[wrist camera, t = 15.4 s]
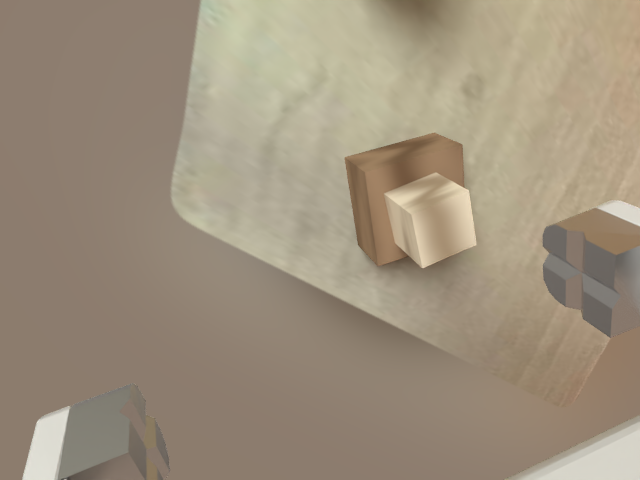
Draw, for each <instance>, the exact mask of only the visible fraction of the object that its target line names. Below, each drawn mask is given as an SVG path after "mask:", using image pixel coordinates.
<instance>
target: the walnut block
mask: <svg viewBox="0 0 640 480" xmlns="http://www.w3.org/2000/svg"><path fill="white" fill-rule="evenodd" d="M345 164H346V170H347V176H348V183H349V189H350V196H351V202H352V208H353V215H354V221H355V228H356V234H357V240H358V245H359V246H360V247H361V248H362V250H363V251H364V252H365V253H366V254H367V255H368V256H369V257H370V258H371V259H372V260H373V261H374V262H375V264H376V265H377V266H380V265H383V264H386V263H389V262H393V261H396V260H399V259H402V258H405V257H408V255H407V254H406V253H405V252H404V251H403V250H402V249H401V248H400V247H399V246H398V245H397V244H395V240H394V236H393V232H392V227H391V223H390V219H389V215H388V210H387V206H386V202H385V197H384V193H386V192H389V191H391V190H393V189H396V188H398V187H401V186H403V185H406V184H408V183H411V182H413V181H416V180H418V179H421V178H423V177H426V176H428V175H430V174H433V173H435V172H436V173H438V174H440V175H442V176H444V177H445V178H447V179H449V180H451V181H453V182H454V183H456V184H458V185H460V186H461V187H463V188H464V171H463V148H462V144H460V143H457V142H455V141H453V140H450V139H448V138H446V137H443V136H441V135H438V134H436V133H432V134H428V135H424V136H421V137H417V138H413V139H410V140H406V141H402V142H399V143H395V144H392V145H388V146H384V147H381V148H377V149H373V150H370V151H366V152H363V153H359V154H355V155H352V156H348V157H345Z"/></svg>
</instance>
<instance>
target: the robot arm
mask: <svg viewBox="0 0 640 480" xmlns="http://www.w3.org/2000/svg"><path fill="white" fill-rule="evenodd" d="M543 247H544V248H545V249H546V250H547V251H548V252H549V255H548V256H547V258H546V260H545V262H544V264H543V277H544V281H545V284H546V286H547V288H548V290H549V292H550V293H551V294H552V296H553V297H554V298H555V299H556V300H557V301H558V302H560V303H561V304H562V305H564V306H565V307H569V308H573V309H578V310H581V313H582V317H583V319H584V320H585V321H587V322H588V323H590V324H591V325H593V326H594V327H595V328H597V329H598V330H600V331H601V332H603V333H604V334H606V335H607V336H609V337H610V338H611V337H614V336H616V335H619V334H621V333H624V332H626V331H629V330H631V329H633V328H636V327H638V326H640V208H638V207H635V206H633V205H630V204H628V203H625V202H622V201H620V200H610V201H608V202H605V203H603V204H601V205H598V206H596V207H593V208H591V209H589V210H588V211H586V212H583V213H580V214H578V215H575V216H573V217H570V218H568V219H565V220H562V221H560V222H557V223H555V224H552V225H550V226H547V227H546V228H545V231H544V233H543ZM169 472H170V468H169V457H168V453H167V448H166V444H165V441H164V438H163V435H162V432H161V430H160V428H159V426H158V424H157V422H156V420H155V418H152V417H150V416H147V415H146V404H145V399H144V397H143V395H142V393H141V391H140V390H139V388H138V386H136V385H135V384H133V383H132V384H129V385H126V386H124V387H121V388H118V389H115V390H113V391H110V392H107V393H104V394H102V395H98V396H96V397H93V398H90V399H88V400H85V401H82V402H79V403H76V404H74V405H73V406H68V407H65V408H63V409H60V410H57V411H55V412H52V413H49V414H47V415H45V416H43V417H41V418H40V419H39V420H38V422H37V424H36V428H35V432H34V436H33V440H32V443H31V447H30V451H29V455H28V459H27V463H26V467H25V471H24V475H23V479H22V480H165V479H166V478H167V476H168V474H169ZM504 480H640V415H638V416H636V417H634V418H632V419H630V420H627V421H625V422H623V423H621V424H619V425H617V426H615V427H613V428H611V429H609V430H607V431H605V432H602V433H601V434H598V435H596V436H594V437H592V438H590V439H588V440H586V441H584V442H581V443H580V444H577V445H575V446H573V447H571V448H569V449H567V450H565V451H563V452H561V453H558V454H556V455H554V456H552V457H550V458H548V459H546V460H544V461H542V462H540V463H538V464H535V465H533V466H531V467H529V468H527V469H525V470H523V471H521V472H519V473H517V474H515V475H513V476H510V477H508V478H506V479H504Z"/></svg>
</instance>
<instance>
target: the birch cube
mask: <svg viewBox="0 0 640 480" xmlns="http://www.w3.org/2000/svg"><path fill="white" fill-rule="evenodd" d="M384 197H385V202H386V206H387V210H388V215H389V219H390V223H391V227H392V232H393V236H394V240H395V244H397V245H398V246H399V247H400V248H401V249H402V250H403V251H404V252H405V253H406V254H407V255H408V256H410V257H411V258H412V259H413V260H414V261H415V262H416V263H417V264H418V265H419V266H420V267H421V268H425V267H427V266H429V265H431V264H434V263H436V262H438V261H441V260H443V259H445V258H447V257H450V256H452V255H454V254H457V253H459V252H461V251H463V250H466V249H468V248H470V247H473V246H475V245H476V237H475V230H474V223H473V216H472V209H471V202H470V194H469V190H467V189H465V188H463V187H461V186H460V185H458V184H456V183H454V182H453V181H451V180H449V179H447V178H445V177H444V176H442V175H440V174H438V173H436V172H435V173H433V174H430V175H428V176H426V177H423V178H421V179H418V180H416V181H413V182H411V183H408V184H406V185H403V186H401V187H398V188H396V189H393V190H391V191H389V192H386V193H384Z"/></svg>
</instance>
